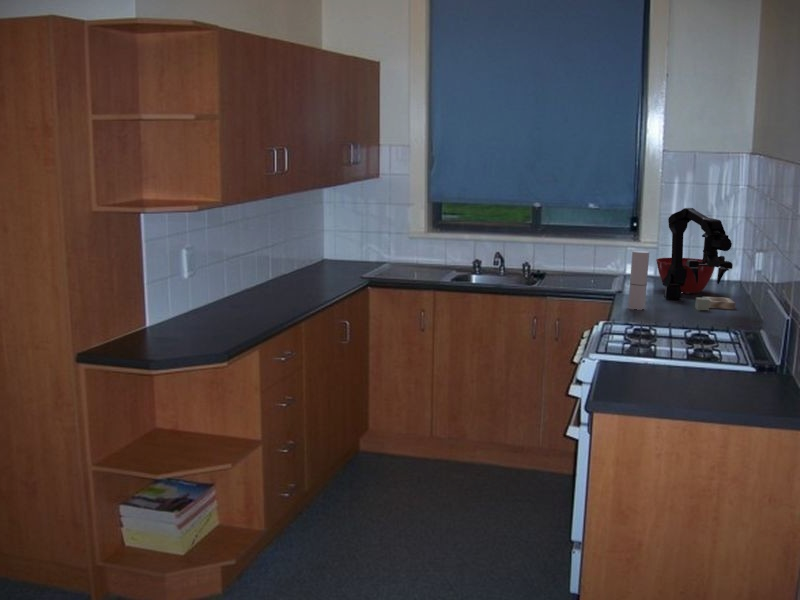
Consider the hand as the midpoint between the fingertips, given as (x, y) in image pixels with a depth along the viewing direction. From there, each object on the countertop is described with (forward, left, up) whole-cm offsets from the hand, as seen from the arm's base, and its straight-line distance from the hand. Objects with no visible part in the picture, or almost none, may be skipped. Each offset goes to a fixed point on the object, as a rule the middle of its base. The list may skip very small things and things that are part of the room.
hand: (707, 283), depth 394 cm
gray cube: (-2, -2, -12) cm, 12 cm away
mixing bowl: (-2, +45, -12) cm, 47 cm away
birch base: (+7, +9, -11) cm, 17 cm away
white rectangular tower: (-31, -8, -12) cm, 34 cm away
